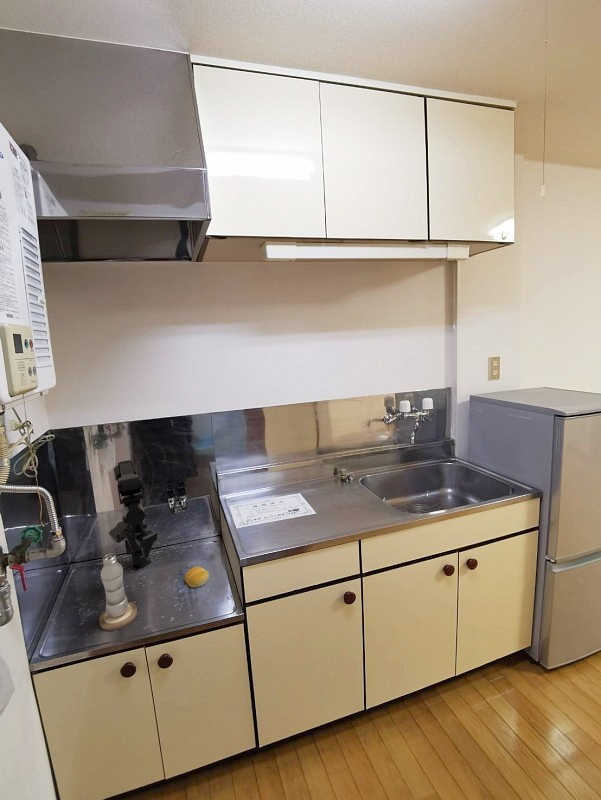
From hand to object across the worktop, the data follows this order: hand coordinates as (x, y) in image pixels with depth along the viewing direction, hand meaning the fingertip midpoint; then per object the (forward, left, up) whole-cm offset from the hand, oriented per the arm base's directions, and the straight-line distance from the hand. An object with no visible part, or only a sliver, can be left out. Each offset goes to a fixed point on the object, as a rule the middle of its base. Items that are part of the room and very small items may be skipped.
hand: (139, 553), depth 139 cm
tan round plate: (+8, -13, -13) cm, 20 cm away
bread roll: (+12, +14, -13) cm, 23 cm away
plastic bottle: (+8, -13, -12) cm, 19 cm away
